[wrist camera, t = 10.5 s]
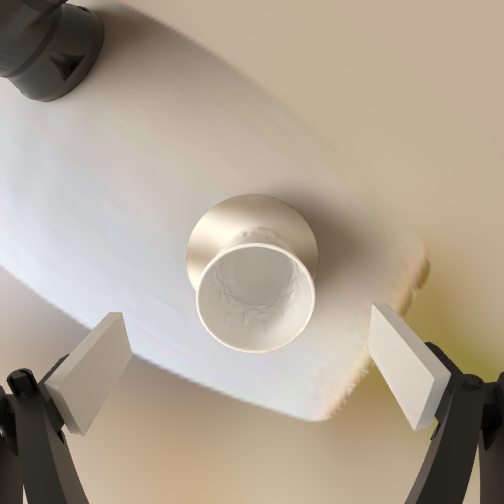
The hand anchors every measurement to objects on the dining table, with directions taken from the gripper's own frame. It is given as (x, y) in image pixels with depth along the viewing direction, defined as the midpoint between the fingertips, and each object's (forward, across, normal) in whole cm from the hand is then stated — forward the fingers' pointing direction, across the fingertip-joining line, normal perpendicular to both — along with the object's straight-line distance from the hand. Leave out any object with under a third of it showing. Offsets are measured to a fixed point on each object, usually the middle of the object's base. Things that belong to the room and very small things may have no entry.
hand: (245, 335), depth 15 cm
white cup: (+15, +1, 0) cm, 15 cm away
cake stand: (+20, 0, -1) cm, 20 cm away
